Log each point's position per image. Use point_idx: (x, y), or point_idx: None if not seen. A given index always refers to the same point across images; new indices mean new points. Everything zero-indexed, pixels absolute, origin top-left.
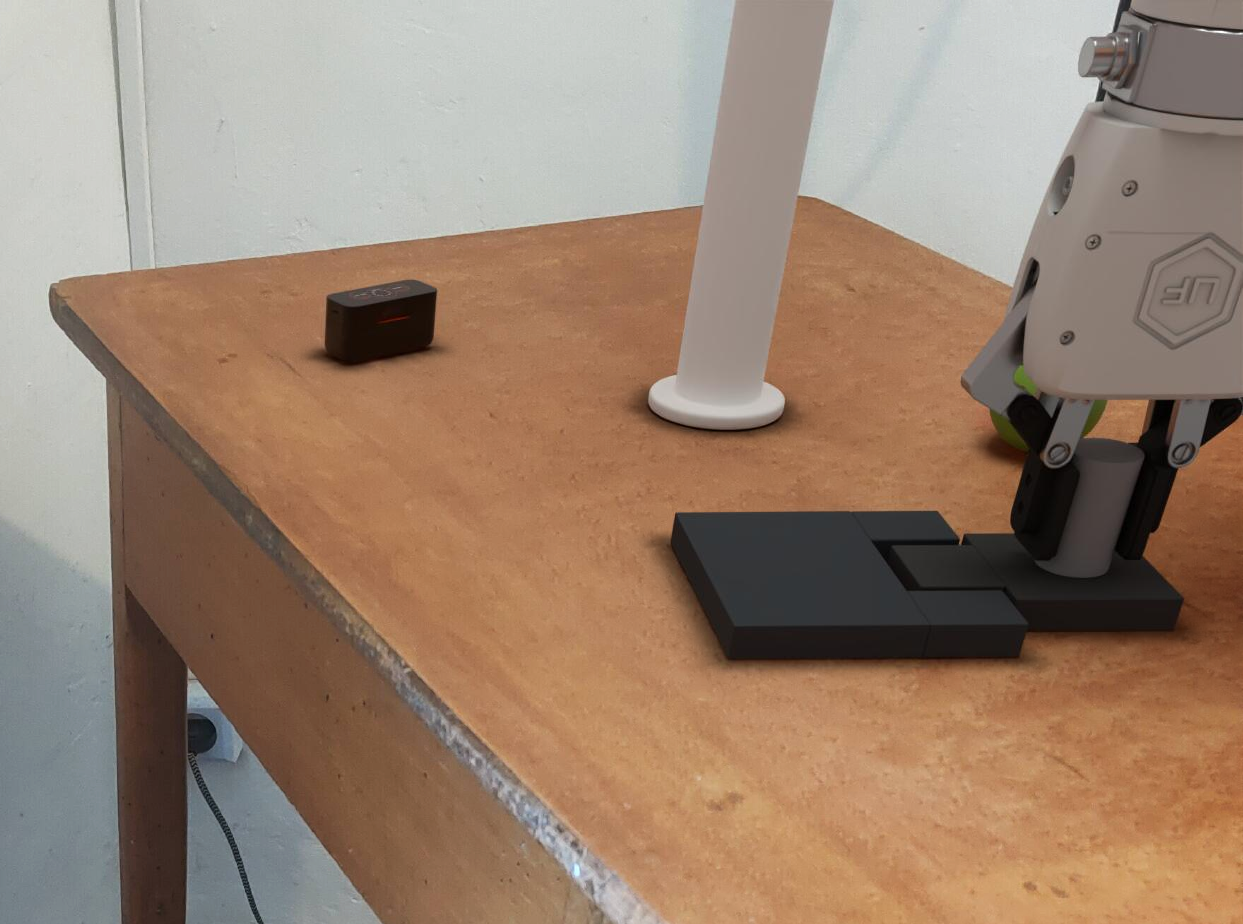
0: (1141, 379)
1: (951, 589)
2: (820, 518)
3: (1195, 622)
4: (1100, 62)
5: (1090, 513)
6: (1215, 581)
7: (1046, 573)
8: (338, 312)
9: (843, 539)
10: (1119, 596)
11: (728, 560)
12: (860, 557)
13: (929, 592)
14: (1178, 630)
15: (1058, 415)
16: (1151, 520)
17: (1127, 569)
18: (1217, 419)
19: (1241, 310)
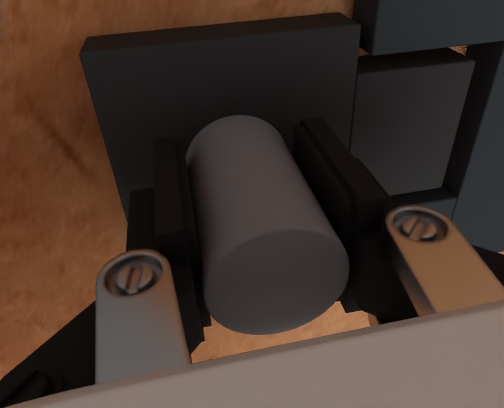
0: (482, 371)
1: (431, 64)
2: (479, 241)
3: (46, 74)
4: None
5: (275, 168)
6: (5, 212)
7: (282, 126)
8: None
9: (488, 193)
10: (194, 48)
11: None
12: (499, 146)
13: (479, 37)
14: (77, 41)
15: (501, 284)
16: (159, 170)
17: None
18: (54, 372)
19: None
